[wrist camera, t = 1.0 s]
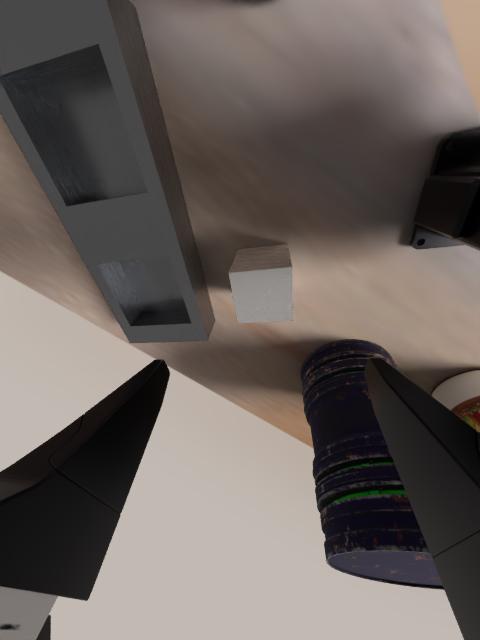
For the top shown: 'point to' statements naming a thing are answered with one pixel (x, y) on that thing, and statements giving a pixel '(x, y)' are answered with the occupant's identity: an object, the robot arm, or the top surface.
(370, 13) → the top surface
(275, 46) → the top surface
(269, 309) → the grey foam cube
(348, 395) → the storage jar
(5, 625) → the robot arm
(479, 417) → the milk bottle
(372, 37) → the top surface
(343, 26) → the top surface
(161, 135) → the tray
